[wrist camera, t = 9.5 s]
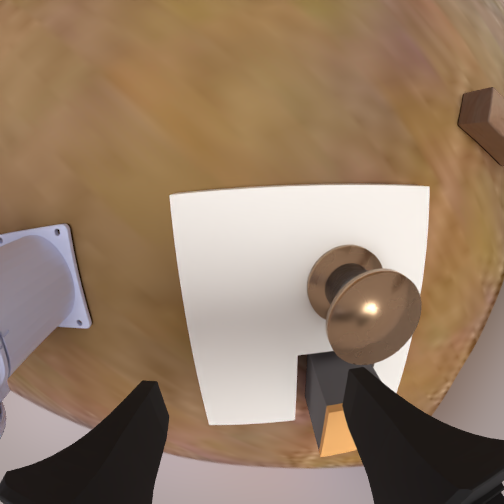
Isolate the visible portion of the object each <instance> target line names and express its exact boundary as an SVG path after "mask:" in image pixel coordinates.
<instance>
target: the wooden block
mask: <svg viewBox="0 0 504 504" xmlns="http://www.w3.org/2000/svg"><path fill="white" fill-rule="evenodd" d="M458 125H459V126H460V127H461V128H462V129H463V130H464V131H466V132H467V133H468V134H469V135H470V136H471V137H472V138H474V139H475V140H476V141H477V142H478V143H479V144H480V145H481V146H482V147H483V148H484V149H485V150H486V151H487V152H488V153H489V154H490V155H491V156H492V157H493V158H494V159H495V160H496V161H497V162H498V163H499V164H500V165H501V166H504V98H503V97H502V95H501V94H500V93H499V92H498V91H497V90H496V89H495V88H493V87H491V88H486V89H481V90H477V91H473V92H468V93H465V94H464V96H463V102H462V107H461V112H460V117H459V122H458Z"/></svg>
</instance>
